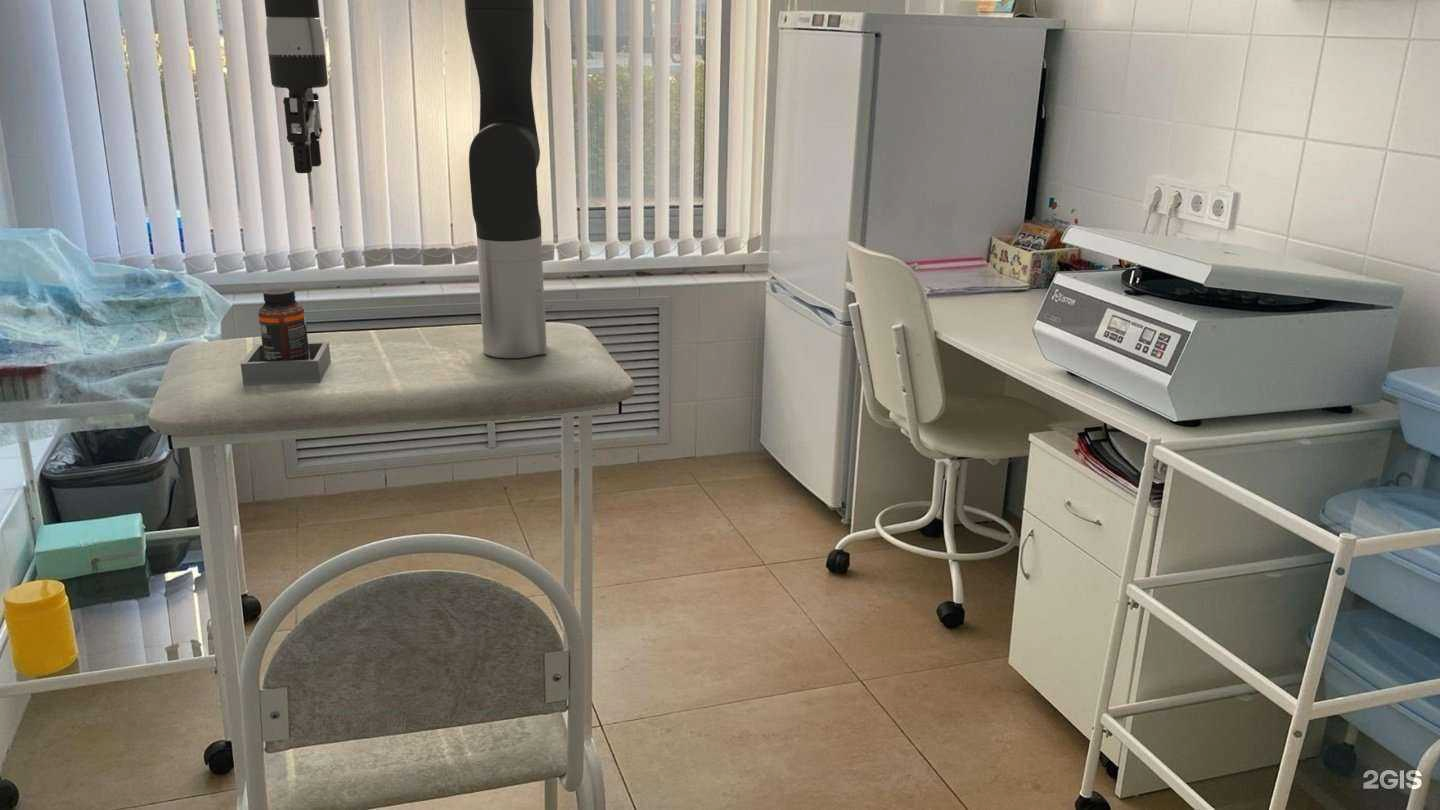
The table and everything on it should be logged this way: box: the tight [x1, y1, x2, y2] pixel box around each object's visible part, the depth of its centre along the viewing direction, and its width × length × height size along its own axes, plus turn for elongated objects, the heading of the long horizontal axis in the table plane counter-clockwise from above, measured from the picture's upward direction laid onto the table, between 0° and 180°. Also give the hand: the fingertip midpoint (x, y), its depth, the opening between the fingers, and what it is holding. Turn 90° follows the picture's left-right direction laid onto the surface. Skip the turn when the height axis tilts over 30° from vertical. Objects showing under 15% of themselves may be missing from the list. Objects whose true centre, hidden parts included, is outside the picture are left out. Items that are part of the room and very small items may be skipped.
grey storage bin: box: [240, 341, 332, 386], centre depth 158 cm, size 10×10×3 cm
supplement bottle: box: [258, 287, 310, 361], centre depth 156 cm, size 6×6×11 cm
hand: (308, 169), depth 164 cm, fingers open, 8 cm apart
